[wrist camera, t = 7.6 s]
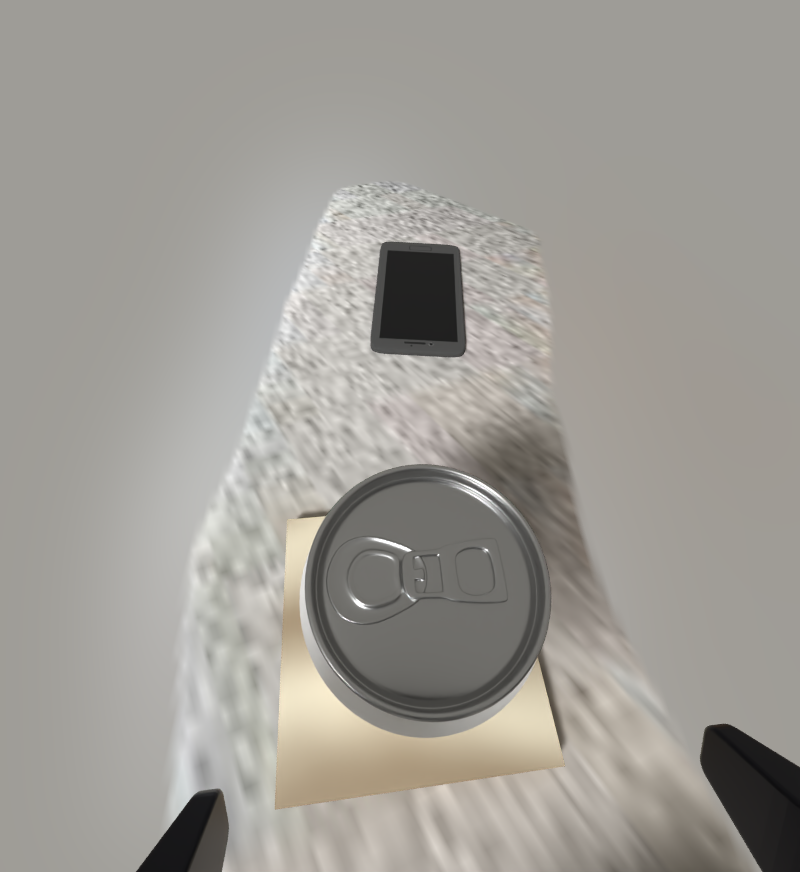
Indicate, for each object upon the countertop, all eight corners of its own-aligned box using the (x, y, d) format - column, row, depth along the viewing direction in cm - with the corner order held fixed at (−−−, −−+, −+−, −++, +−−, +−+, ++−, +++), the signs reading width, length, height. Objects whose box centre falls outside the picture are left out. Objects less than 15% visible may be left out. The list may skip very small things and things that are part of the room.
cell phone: (458, 251, 38) (459, 244, 37) (464, 361, 31) (466, 354, 30) (381, 247, 38) (381, 240, 37) (369, 356, 30) (369, 349, 30)
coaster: (556, 762, 18) (565, 766, 17) (280, 803, 17) (274, 809, 16) (494, 507, 24) (498, 500, 23) (290, 525, 23) (287, 519, 22)
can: (338, 566, 21) (294, 454, 11) (460, 558, 21) (531, 443, 11) (336, 718, 17) (270, 767, 7) (482, 705, 18) (614, 734, 8)
